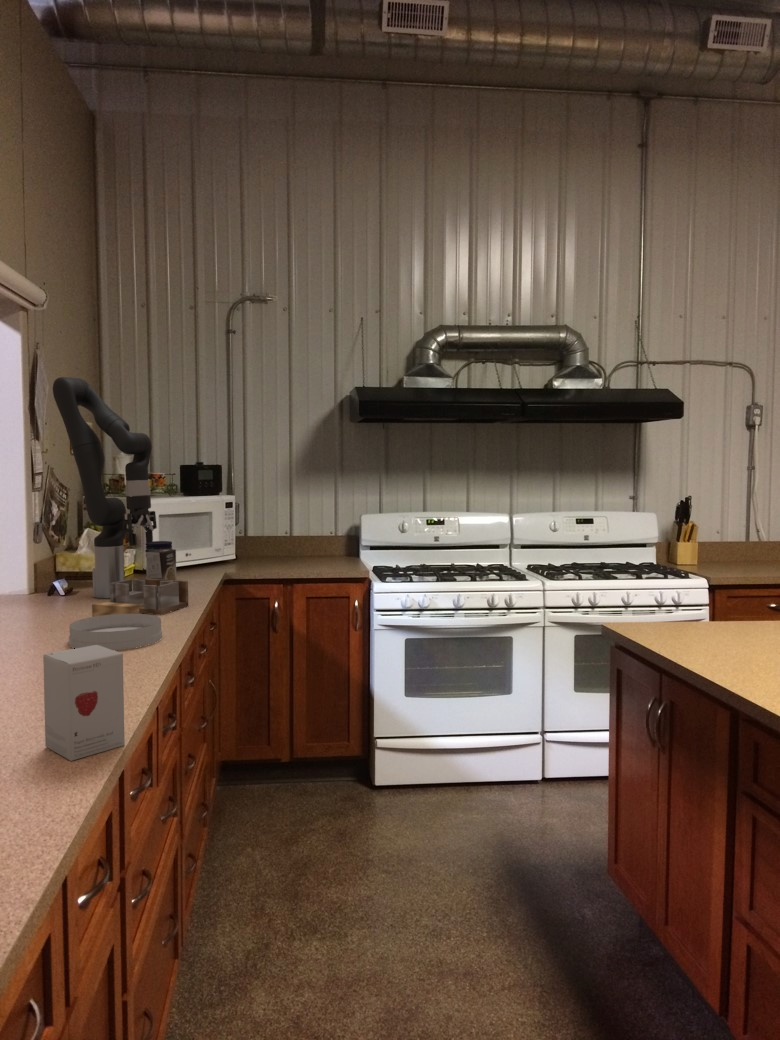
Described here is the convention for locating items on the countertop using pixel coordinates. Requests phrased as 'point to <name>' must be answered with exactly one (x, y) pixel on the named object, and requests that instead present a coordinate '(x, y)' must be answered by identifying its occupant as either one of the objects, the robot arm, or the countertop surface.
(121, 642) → the dish
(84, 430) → the robot arm
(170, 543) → the storage jar
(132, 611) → the rail
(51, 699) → the supplement box
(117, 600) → the bracket board
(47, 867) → the countertop surface
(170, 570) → the coffee box
